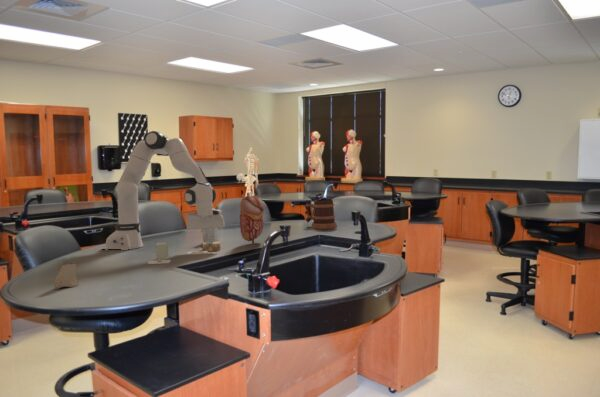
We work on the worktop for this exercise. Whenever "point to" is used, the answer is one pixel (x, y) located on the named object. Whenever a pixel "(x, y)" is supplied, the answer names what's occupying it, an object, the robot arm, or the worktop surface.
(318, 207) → the mug
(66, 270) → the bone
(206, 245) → the maple block
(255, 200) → the anatomical model
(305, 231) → the worktop surface
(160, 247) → the sage block
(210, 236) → the supplement box
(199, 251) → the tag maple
